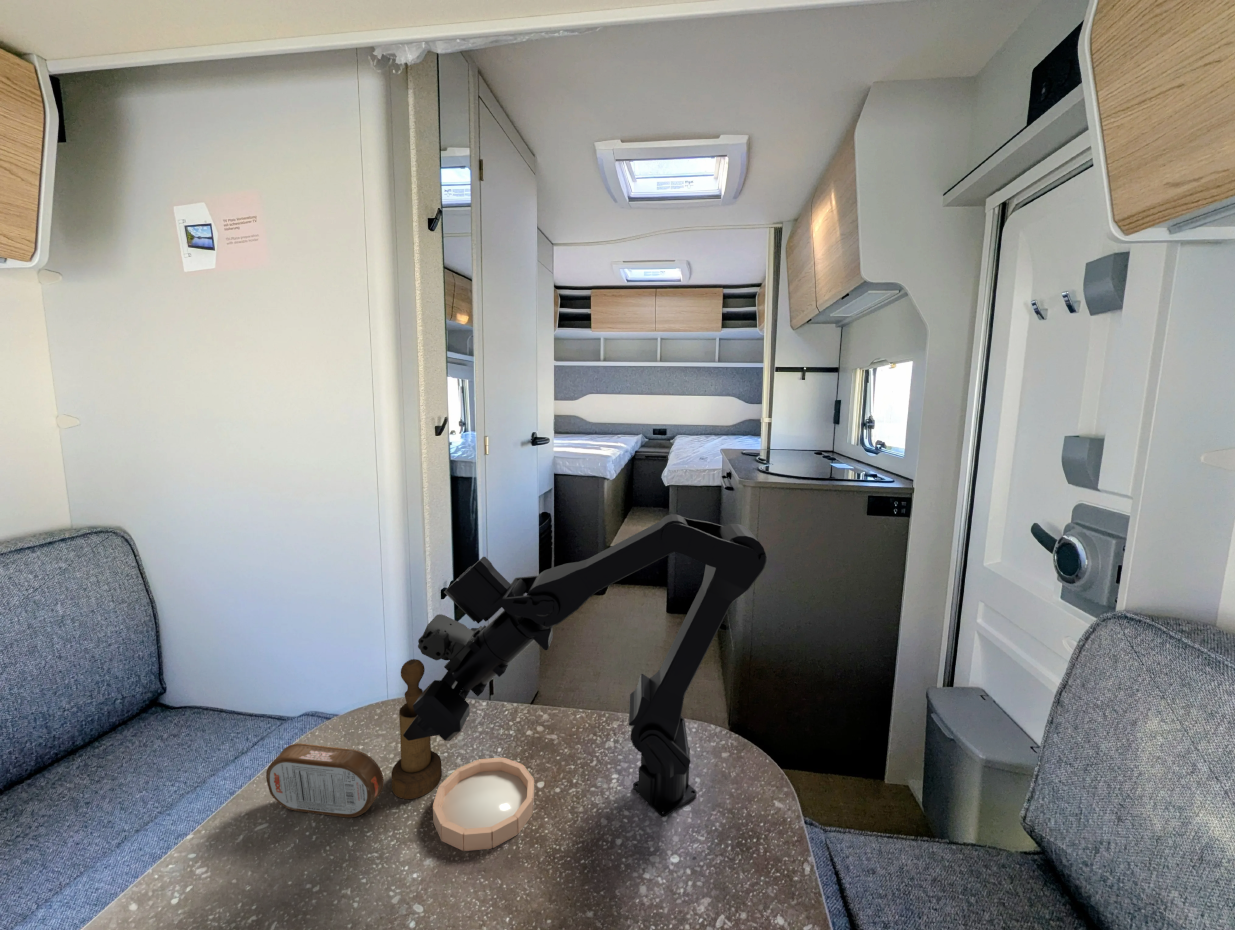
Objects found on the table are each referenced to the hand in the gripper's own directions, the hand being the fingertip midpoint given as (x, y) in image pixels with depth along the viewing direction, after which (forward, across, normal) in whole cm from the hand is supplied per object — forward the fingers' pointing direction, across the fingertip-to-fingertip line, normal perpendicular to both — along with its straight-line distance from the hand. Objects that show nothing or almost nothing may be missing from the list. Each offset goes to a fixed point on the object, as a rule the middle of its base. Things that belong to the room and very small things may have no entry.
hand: (421, 714), depth 69 cm
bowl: (0, +4, +14) cm, 15 cm away
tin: (+15, +5, 0) cm, 16 cm away
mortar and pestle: (+8, 0, +7) cm, 10 cm away
